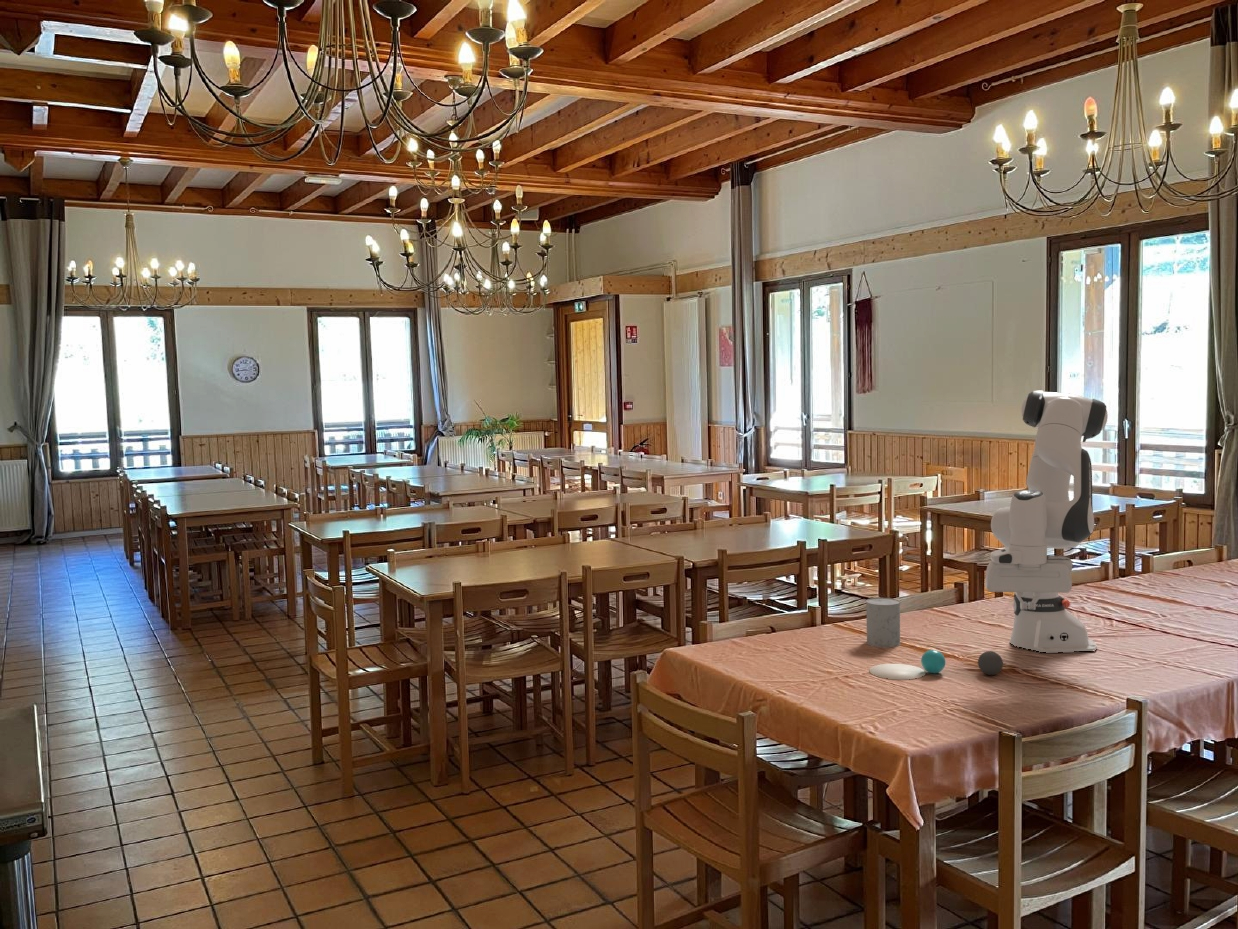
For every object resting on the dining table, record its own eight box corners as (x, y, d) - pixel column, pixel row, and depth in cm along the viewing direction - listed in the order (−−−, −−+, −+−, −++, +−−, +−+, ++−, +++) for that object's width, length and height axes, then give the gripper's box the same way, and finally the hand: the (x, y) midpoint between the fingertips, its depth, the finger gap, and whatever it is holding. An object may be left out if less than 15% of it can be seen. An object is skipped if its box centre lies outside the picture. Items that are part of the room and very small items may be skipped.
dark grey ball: (1000, 671, 258) (1000, 648, 258) (1004, 678, 252) (1004, 655, 252) (976, 671, 259) (976, 648, 259) (979, 677, 253) (979, 654, 253)
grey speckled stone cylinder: (901, 640, 292) (901, 598, 291) (899, 648, 283) (899, 605, 282) (867, 638, 295) (867, 597, 294) (864, 646, 286) (864, 604, 285)
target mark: (922, 665, 266) (922, 664, 266) (927, 680, 252) (927, 679, 252) (868, 663, 269) (868, 663, 269) (870, 679, 255) (870, 678, 255)
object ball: (944, 670, 261) (944, 647, 260) (946, 676, 255) (946, 653, 255) (920, 669, 262) (920, 646, 262) (922, 676, 256) (922, 653, 256)
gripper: (1069, 553, 252) (1069, 607, 253) (983, 552, 257) (984, 605, 258) (1075, 557, 246) (1075, 612, 247) (987, 557, 250) (987, 611, 252)
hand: (1027, 609), depth 253 cm, fingers closed
